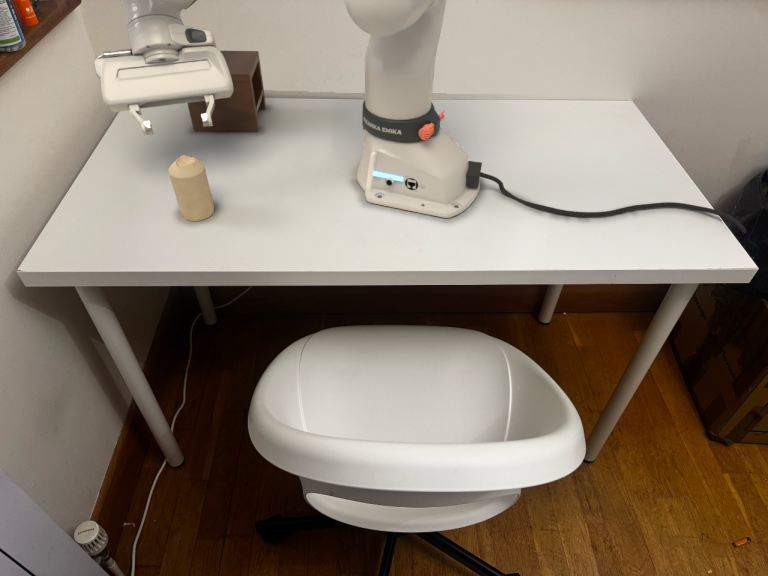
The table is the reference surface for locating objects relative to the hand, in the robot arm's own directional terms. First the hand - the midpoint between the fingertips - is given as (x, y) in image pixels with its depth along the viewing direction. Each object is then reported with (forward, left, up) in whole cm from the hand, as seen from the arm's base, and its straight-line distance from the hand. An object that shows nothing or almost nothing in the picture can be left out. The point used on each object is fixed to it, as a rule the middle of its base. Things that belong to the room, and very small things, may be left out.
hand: (178, 129), depth 92 cm
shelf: (+11, -23, -11) cm, 28 cm away
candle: (-5, +5, -12) cm, 14 cm away
